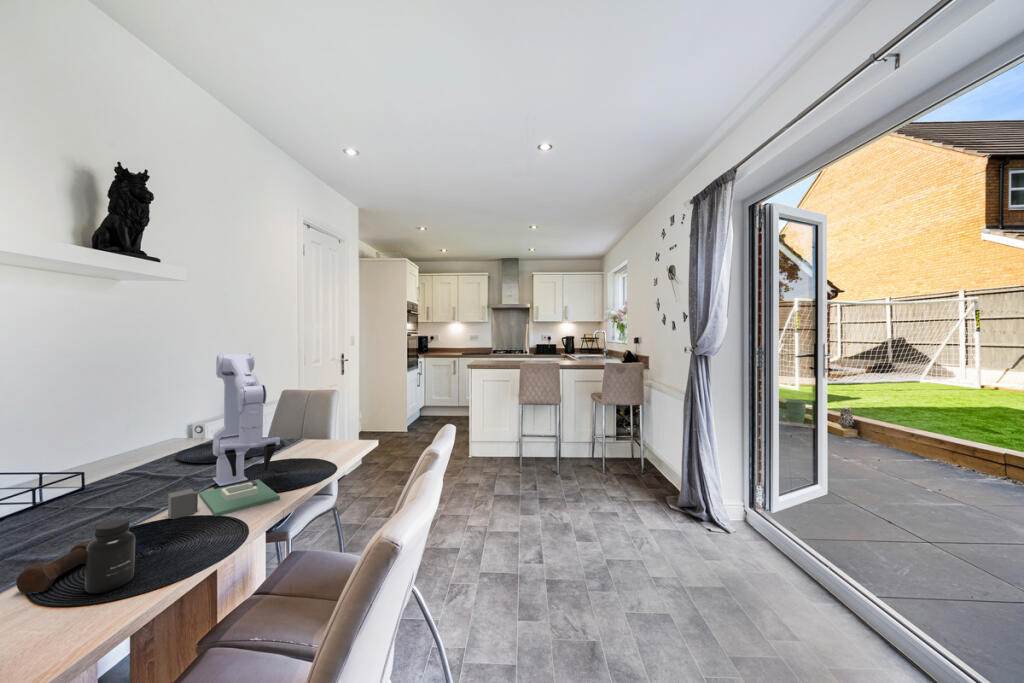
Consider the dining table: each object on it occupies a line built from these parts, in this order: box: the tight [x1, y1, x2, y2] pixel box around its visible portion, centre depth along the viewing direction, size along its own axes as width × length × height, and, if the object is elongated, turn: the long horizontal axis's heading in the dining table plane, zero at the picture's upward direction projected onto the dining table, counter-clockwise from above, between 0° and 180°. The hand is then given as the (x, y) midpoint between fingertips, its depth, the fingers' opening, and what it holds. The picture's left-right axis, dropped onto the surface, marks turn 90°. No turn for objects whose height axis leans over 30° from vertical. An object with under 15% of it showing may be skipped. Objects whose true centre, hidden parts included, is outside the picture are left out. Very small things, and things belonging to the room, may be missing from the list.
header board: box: [198, 478, 280, 517], centre depth 118 cm, size 20×16×3 cm
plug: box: [167, 488, 199, 520], centre depth 107 cm, size 4×6×6 cm
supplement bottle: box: [84, 518, 136, 594], centre depth 77 cm, size 7×7×12 cm
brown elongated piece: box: [15, 540, 93, 595], centre depth 81 cm, size 6×5×15 cm
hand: (250, 472), depth 113 cm, fingers open, 7 cm apart
